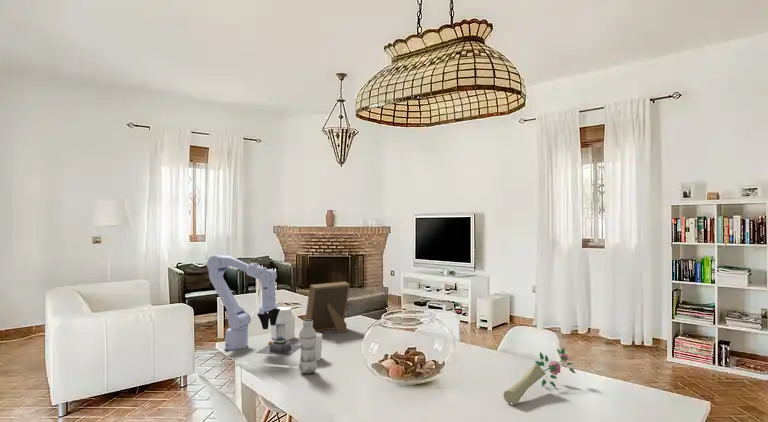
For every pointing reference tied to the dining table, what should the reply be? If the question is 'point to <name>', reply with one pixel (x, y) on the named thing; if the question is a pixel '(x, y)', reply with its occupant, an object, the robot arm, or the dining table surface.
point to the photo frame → (328, 306)
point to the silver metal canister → (280, 333)
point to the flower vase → (535, 377)
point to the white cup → (318, 346)
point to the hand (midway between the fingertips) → (269, 327)
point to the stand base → (280, 348)
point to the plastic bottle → (307, 348)
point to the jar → (288, 320)
